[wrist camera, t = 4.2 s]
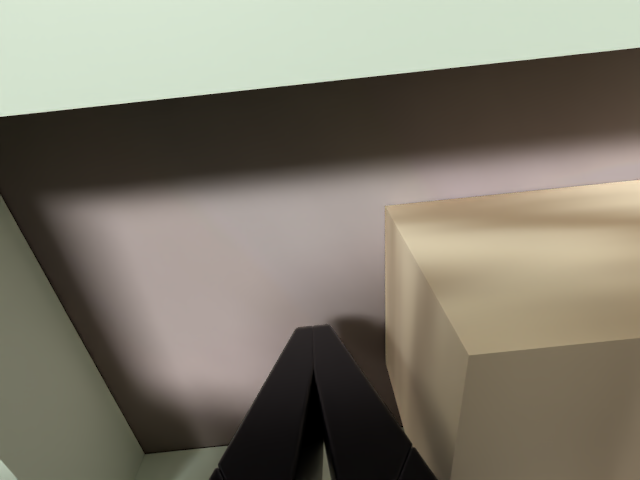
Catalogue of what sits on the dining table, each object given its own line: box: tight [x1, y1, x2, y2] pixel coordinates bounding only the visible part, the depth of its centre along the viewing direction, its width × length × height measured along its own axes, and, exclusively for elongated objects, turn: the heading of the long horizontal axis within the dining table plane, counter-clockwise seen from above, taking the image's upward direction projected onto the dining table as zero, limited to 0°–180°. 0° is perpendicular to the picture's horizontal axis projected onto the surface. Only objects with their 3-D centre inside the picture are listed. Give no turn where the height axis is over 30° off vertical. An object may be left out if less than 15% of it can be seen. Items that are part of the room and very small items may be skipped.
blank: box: [385, 180, 640, 480], centre depth 7 cm, size 8×5×4 cm, turn 95°
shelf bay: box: [0, 0, 640, 480], centre depth 8 cm, size 16×13×3 cm
